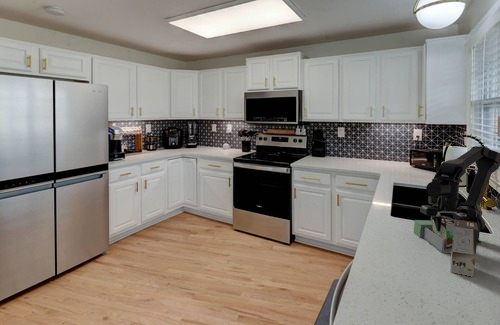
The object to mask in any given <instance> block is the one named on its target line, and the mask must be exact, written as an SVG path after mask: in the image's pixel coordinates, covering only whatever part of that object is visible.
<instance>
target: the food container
mask: <svg viewBox="0 0 500 325" xmlns="http://www.w3.org/2000/svg"><path fill="white" fill-rule="evenodd" d="M440 216H441V217H442V221H441V227H440V231H439V232H438V231H437V229H436V226H435V223H434V220H433V218H432V216H430V221H432V229H433V233H435V234H436V235H438V236H439V237H441V238H442V239H443V240H445V244H444V248H446V249H448V248H452V243H453V233H454V224H455V220H454V218H452V217H450V216H446V215H440Z"/></svg>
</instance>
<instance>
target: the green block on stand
mask: <svg viewBox="0 0 500 325" xmlns="http://www.w3.org/2000/svg"><path fill="white" fill-rule="evenodd" d="M413 234H414V235H416V236H417V237H418V238H419V239H423V240H424V241H426V243H428V244H429V245H430V246H432V247H434V248H435V249H436V251H438V252H439V253H441V254H452V248H448V249H446V248H444V244H445V240H443V239H442V238H441V237H439V236H438V235H436V234H435V233H433V229H432V220H429V219H428V220H427V219H426V220H425V219H424V220H422V219H415V220H414V223H413Z"/></svg>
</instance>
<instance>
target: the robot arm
mask: <svg viewBox="0 0 500 325" xmlns="http://www.w3.org/2000/svg"><path fill="white" fill-rule="evenodd" d="M473 164H475V166H476V168H477V170H476V174H475V176H474V179H473V182H472V183H471V184H472V185H471V187H470V190H469V192H468V195H467V197H466V200H465V201H464V202H460V201H461V198H460V197H459V192H460V191H459V190H460V183H463V180H462V179H461V178H462V177H463V176H464V175H465V174H466V173H467V171H466V170H467V168H469V167H470V166H472V165H473ZM499 169H500V152H499V151H496V150H492V149H490V148H489V147H486V146H483V145H482V146H480V145H475V146H472V147H471V148H470V149H469V150H468V151H466V152H465V153H463V154H462V155H460V156H458V157H457V158H455V159H449V160H446V161H443V162H442V163H441V164H440V166H439V167H438V169H437V171H436V173H435V175H434V176H433V178H432V179H431V181H430V182H429V183H427V185H426V186H425V189H426V192H427V194H428V198H427V202H428V204H429V205H428V204H427V205H421V206H420V209H419V212H420V213H422V214H423V215H425V216H428V217H431V216H432V218H433V220H434V223H435V226H436V229H437V231H438V232H439V231H440V227H441V221H442V217H441V216H442V215H441V214H452V217H453V219H454V220H464V221H471V222H476V223H477V225H478V230H479V231H478V239H477V243H482V240H480V232H481V230H484V229H485V227H486V221H485V220H484V218H483V217H482V216H483V211H482V208H481V205H482V204H481V203H482V201H483V199H484V195H485V193H486V191H487V187H488V184H489V181H490V179H491V177H492V174H493V173H494V172H495V173H496V171H497V170H499ZM458 202H460V203H459V204H458Z"/></svg>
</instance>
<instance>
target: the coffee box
mask: <svg viewBox="0 0 500 325" xmlns="http://www.w3.org/2000/svg"><path fill="white" fill-rule="evenodd" d="M478 231H479V230H478V225H477V223H476V222H471V221H464V220H455V224H454V233H453V243H452V253H450V254H451V256H450V257H451V258H450V271H449V272H450V273H453V274H457V275H461V274H462V275H463V276H465V275H467V276H466V277H469V276H471V277H470V278H473V277H474V274H475V273H474V272H475V264H476V263H475V262H476V254H477V246H478V242H477V239H478Z"/></svg>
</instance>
